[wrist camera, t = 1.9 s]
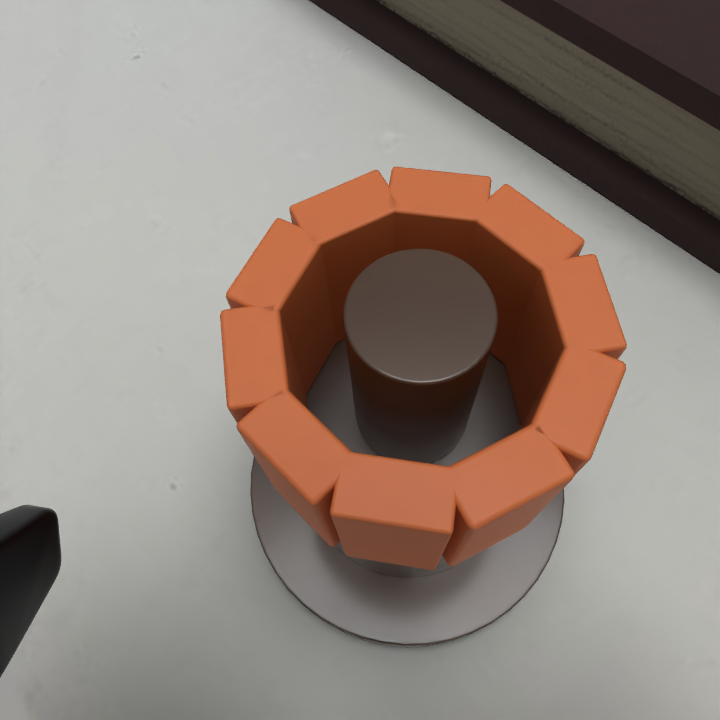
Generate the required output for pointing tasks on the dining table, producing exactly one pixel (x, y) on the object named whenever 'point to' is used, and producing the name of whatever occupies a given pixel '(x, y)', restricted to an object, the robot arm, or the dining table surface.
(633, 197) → the book
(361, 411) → the peg stand
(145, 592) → the dining table surface
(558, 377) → the ring
